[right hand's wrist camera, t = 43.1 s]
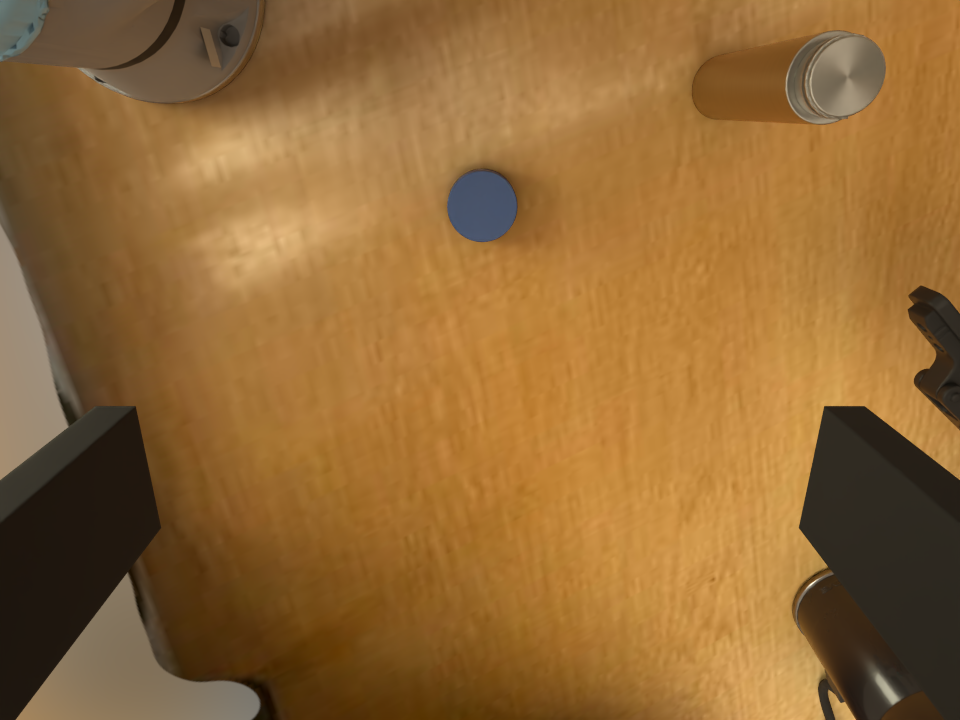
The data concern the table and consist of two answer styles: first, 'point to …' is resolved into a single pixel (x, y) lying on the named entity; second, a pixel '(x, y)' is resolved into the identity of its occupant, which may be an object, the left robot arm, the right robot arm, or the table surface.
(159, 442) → the table surface
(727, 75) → the bronze metal cylinder
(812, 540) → the right robot arm
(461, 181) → the lid
